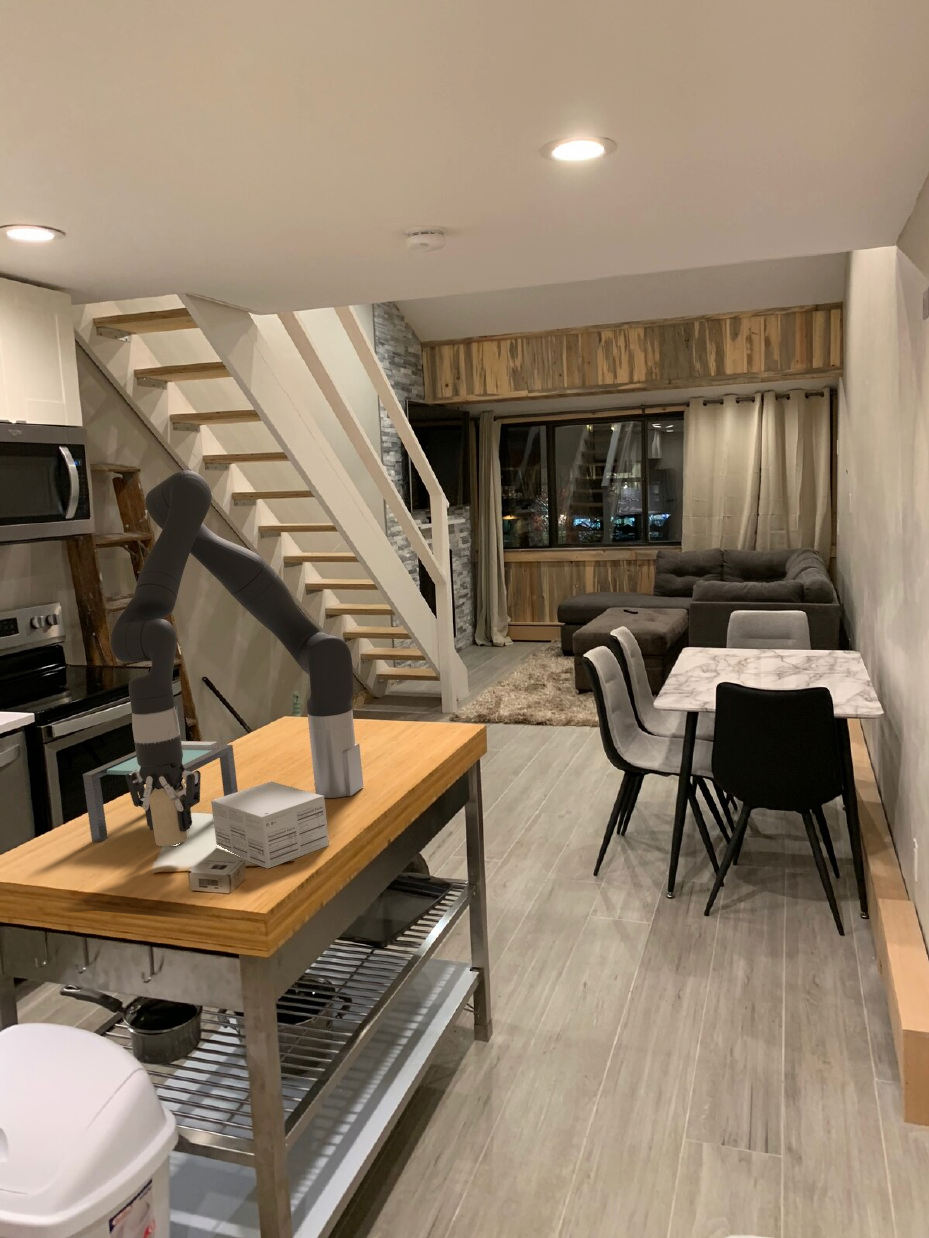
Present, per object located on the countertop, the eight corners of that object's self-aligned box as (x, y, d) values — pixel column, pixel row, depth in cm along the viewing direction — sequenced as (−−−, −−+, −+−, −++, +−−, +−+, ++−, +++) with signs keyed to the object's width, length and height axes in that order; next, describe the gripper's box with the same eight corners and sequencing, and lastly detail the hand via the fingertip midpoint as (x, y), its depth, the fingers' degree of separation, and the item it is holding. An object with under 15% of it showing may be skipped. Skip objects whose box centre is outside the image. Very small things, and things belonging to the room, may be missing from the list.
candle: (191, 832, 164) (184, 778, 162) (183, 844, 158) (176, 788, 157) (160, 836, 164) (152, 781, 162) (151, 848, 158) (143, 791, 157)
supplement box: (331, 845, 164) (326, 794, 163) (267, 870, 155) (261, 817, 153) (277, 826, 176) (272, 779, 175) (215, 849, 167) (209, 798, 165)
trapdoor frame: (161, 803, 195) (153, 743, 193) (239, 807, 188) (232, 744, 187) (91, 841, 175) (82, 774, 173) (176, 846, 169) (168, 777, 167)
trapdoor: (164, 752, 192) (163, 740, 192) (222, 753, 188) (221, 741, 187) (107, 778, 176) (106, 765, 176) (169, 780, 171) (168, 767, 171)
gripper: (205, 729, 160) (218, 822, 162) (136, 729, 164) (149, 820, 167) (179, 741, 153) (193, 839, 155) (107, 741, 157) (121, 836, 159)
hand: (170, 829), depth 161 cm, fingers closed on candle, 5 cm apart
